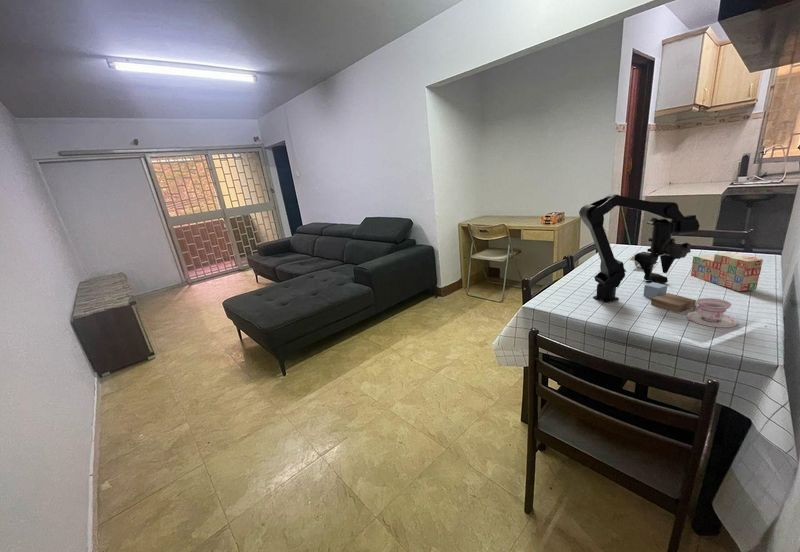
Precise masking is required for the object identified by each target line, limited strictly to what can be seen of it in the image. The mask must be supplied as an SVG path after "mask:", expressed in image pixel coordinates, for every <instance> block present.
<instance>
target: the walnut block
mask: <svg viewBox="0 0 800 552" xmlns="http://www.w3.org/2000/svg"><path fill="white" fill-rule="evenodd" d="M650 300H651V301H650V305H651V306H653V307H654V306H655V307H657V308H661V309H664V310H667V311H672V312H675V313H680V312H683V311H687V310H691V309H693V308H695V307H696V304H697V299H694V298H693V299H692V298H688V297H686V296H681V295H677V294H674V293H669V292H666V294H664V295H660V296H657V297H654V298H652V299H651V298H650Z"/></svg>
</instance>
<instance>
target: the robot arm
mask: <svg viewBox="0 0 800 552" xmlns="http://www.w3.org/2000/svg"><path fill="white" fill-rule="evenodd" d="M615 207H621V208H622V207H623V208H627V209H632V210H633V209H634V210H636V211H637V210H638V211H642V212H644V213H646V214H648V215H651V216H654V217H651V219H650V220H648V221H647V222H646V224H647V225H650V226H652V233H651V237H650V238H648V242H650V247H649V248H647V251H641V252H637V253H636V255H635V256H634V260H636V261H637V262H639V265H640V266H641V270H642V272H643V273H644V275H646V277H647V278H650V276H651V273H653V268H654V266H656V264H658V263H659V262H658V259H659V258H660V264H661V268H662V269H661V270H662V273H663V274H668V272H669V271H670V268H671V267H672V265H673V263H674V261H676V260H681V259H682V258H683V259H684V258H686V256H687V255H688V254H690V253H691V251H692V250H691V247H692V246H691V245H692V244H691V243H689V242H684V243H675V242H676V239H675V238H674V237H672V236H673V234H674V235H675V236H676V235H686V234H695V233H696V234H697V232H698V231H699V230H700V222H699V220H698V219H697V215H696V214H687V215H683V213H682V212H681V211H680V209H679V205H678V203H676V202H673V201H664V200H644V199H639V198H633V197H628V196H623V195H620V194H616V193H615V194H614V193H610V194H608V195H606V196H605V197H602V198H600V199H598V200H596V201H594V202H591V203H590V204H585V205H583V206H582V207H581V208H580V210H579V211H578V213H579V217H580V219H581V220H582V222H583V224H585V226H586V227H587V229H589V232H590V235H591V237H592V240H593V242H594V246H595V248H596V251H597V254H598V257H599V259H600V266H599V269H600V271H599V272H598V273H597V274H595V276H594V281H595V282H596V283H597V284H596V295H594V296H592V298H593V299H596V300H599V301H601V302H604V303H609V302H614V301H617V300H619V297H618V296H616V294H617V291H616V290H617V288H619V287H620V285H621V282H622V281H623V280H624V279H625V277H626V273H627V270H626V269H625V264H624V262H623V261H621V260H619V259H617V258H616V257H615V256H614V252H613V250H612V247H611V244H610V242H609V240H608V239H609V238H608V236H607V233H606V230H605V228H604V224H605V222H604V221H605V217H604V216H605V215H607V214H608V213H609V212H611V210H613V209H614V208H615ZM656 217H659V218H661V219H658V218H656Z"/></svg>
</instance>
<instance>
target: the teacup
mask: <svg viewBox="0 0 800 552" xmlns="http://www.w3.org/2000/svg"><path fill="white" fill-rule="evenodd" d="M696 304H698V306H697V308H696V309H697V311H695V310H694V311H689V312H688V313H687V314H686V318H687V319H688V320H689V321H691V322H693V323H696V324H698V325H703V326H706V327H713V328H720V329H721V328H725V329H726V328H734V327H736V326H737V325H738V321H737V320H736V319H735V318H734V317H732V316H730V315H726V314H724V313H725V312H727V310H728V309H730V308H731V306H732V303H731V301H728V300H725V299H721V298H714V297H713V298H712V297H706V298H705V297H703V298H699V299H696ZM702 318H703V319H702ZM719 320H720V322H718V321H719Z"/></svg>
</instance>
